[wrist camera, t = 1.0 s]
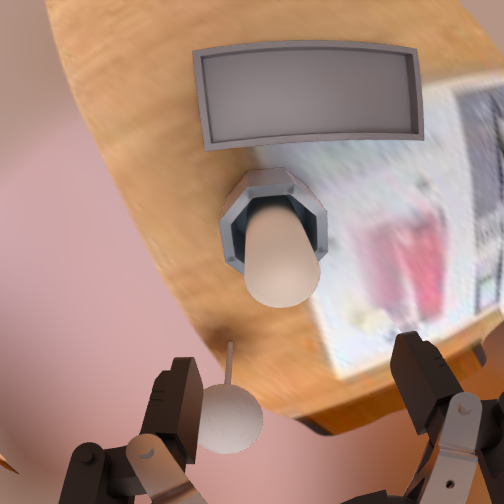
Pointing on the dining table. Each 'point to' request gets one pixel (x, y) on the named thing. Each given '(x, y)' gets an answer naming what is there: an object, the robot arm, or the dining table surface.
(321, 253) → the grey octagonal collar
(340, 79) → the tray
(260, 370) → the dining table surface
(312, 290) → the peg
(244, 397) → the lollipop
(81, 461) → the robot arm
